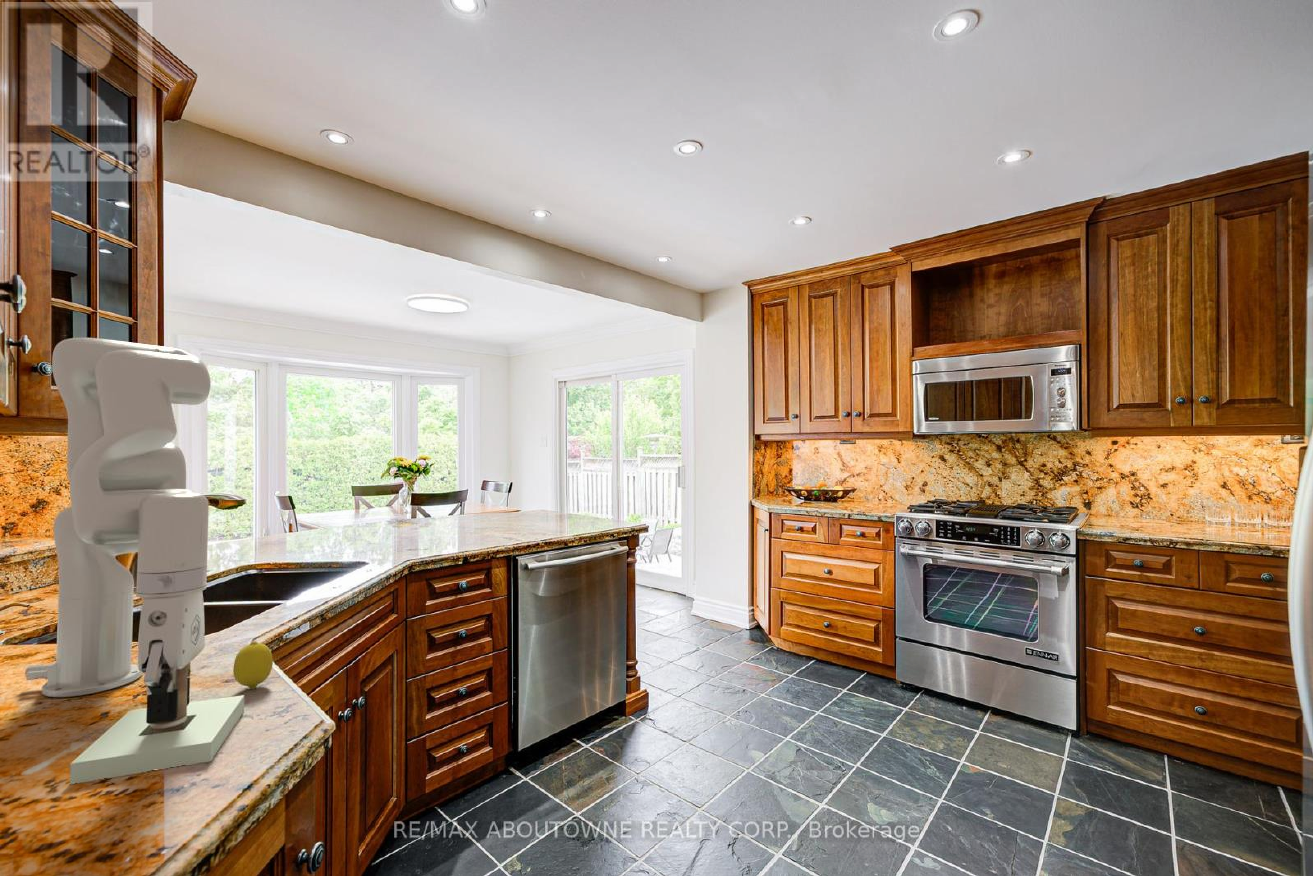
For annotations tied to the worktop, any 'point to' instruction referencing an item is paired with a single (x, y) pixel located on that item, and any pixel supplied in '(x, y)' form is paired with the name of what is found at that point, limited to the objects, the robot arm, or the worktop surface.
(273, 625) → the worktop surface
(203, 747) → the board
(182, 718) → the peg
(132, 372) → the robot arm
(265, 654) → the lemon
